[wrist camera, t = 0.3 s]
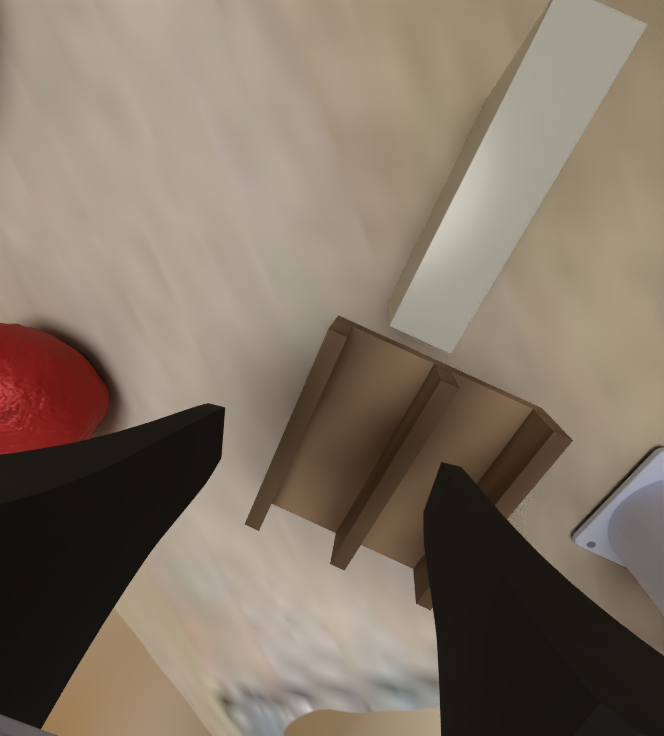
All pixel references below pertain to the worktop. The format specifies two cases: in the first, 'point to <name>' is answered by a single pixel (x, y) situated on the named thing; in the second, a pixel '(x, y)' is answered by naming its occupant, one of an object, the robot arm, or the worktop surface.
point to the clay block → (510, 165)
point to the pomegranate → (45, 391)
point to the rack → (398, 446)
